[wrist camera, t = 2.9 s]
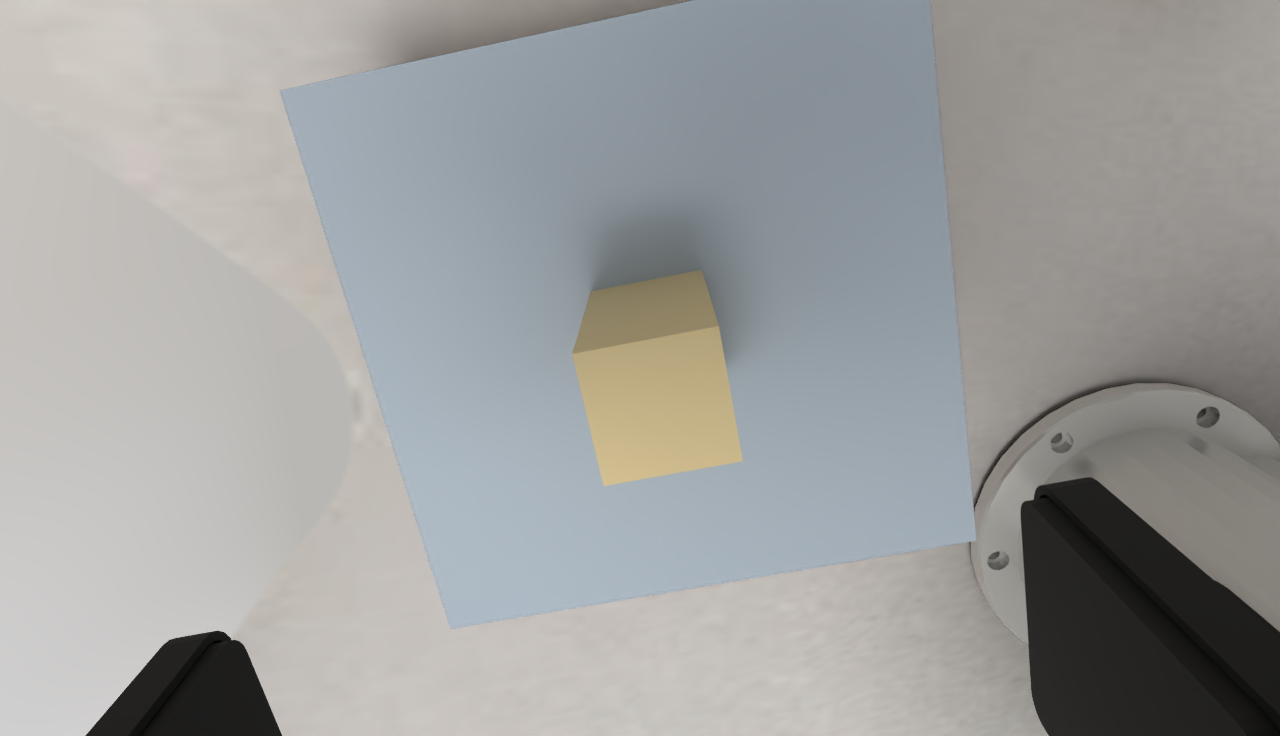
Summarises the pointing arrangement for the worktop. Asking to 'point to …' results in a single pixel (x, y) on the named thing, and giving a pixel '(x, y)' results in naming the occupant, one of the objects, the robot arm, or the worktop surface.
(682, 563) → the lid
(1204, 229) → the worktop surface
